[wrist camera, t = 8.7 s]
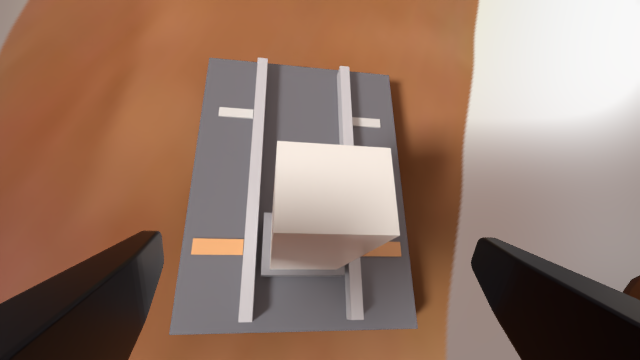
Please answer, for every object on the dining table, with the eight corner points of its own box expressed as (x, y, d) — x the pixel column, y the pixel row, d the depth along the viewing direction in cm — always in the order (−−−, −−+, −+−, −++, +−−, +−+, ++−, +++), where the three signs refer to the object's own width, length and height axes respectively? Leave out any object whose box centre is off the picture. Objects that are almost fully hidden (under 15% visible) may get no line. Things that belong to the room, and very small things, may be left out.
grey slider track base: (402, 326, 18) (426, 329, 15) (180, 331, 16) (162, 336, 14) (379, 93, 24) (393, 65, 21) (214, 78, 22) (206, 45, 20)
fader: (340, 276, 16) (415, 245, 8) (261, 276, 16) (255, 242, 8) (338, 219, 17) (403, 141, 9) (264, 217, 17) (262, 131, 9)
